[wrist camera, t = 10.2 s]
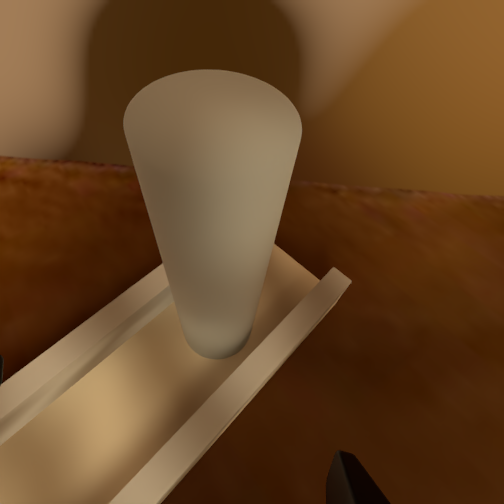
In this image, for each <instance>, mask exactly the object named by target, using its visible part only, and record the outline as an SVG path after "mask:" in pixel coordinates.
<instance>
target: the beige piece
mask: <svg viewBox="0 0 504 504" xmlns="http://www.w3.org/2000/svg"><path fill="white" fill-rule="evenodd" d="M123 125H124V132H125V136H126V140H127V143H128V146H129V150H130V153H131V156H132V160H133V163H134V167H135V170H136V173H137V177H138V180H139V184H140V187H141V190H142V194H143V197H144V201H145V204H146V207H147V211H148V214H149V218H150V221H151V224H152V228H153V231H154V235H155V238H156V241H157V245H158V248H159V251H160V255H161V258H162V262H163V265H164V268H165V272H166V275H167V279H168V282H169V285H170V289H171V292H172V296H173V299H174V302H175V306H176V309H177V312H178V316H179V319H180V323H181V326H182V329H183V333H184V336H185V339H186V341H187V343H188V345H189V346H190V347H191V349H192V350H193V351H194V352H196V353H197V354H199V355H200V356H202V357H205V358H208V359H225V358H228V357H231V356H233V355H235V354H236V353H238V352H239V351H240V350H241V349H242V348H243V347H244V346H245V345H246V343H247V341H248V339H249V337H250V334H251V330H252V326H253V322H254V319H255V315H256V311H257V307H258V303H259V299H260V295H261V291H262V288H263V284H264V280H265V276H266V272H267V268H268V264H269V260H270V257H271V253H272V249H273V245H274V241H275V237H276V233H277V229H278V226H279V222H280V218H281V214H282V210H283V206H284V202H285V198H286V194H287V191H288V187H289V183H290V179H291V175H292V171H293V167H294V163H295V159H296V156H297V152H298V148H299V144H300V140H301V135H302V123H301V120H300V116H299V114H298V112H297V110H296V108H295V107H294V105H293V104H292V102H291V101H290V100H289V99H288V98H287V97H286V96H285V95H284V94H282V93H281V92H280V91H279V90H277V89H276V88H274V87H273V86H271V85H269V84H267V83H265V82H264V81H261V80H259V79H257V78H254V77H251V76H248V75H244V74H241V73H236V72H231V71H224V70H192V71H186V72H181V73H176V74H172V75H169V76H166V77H163V78H161V79H159V80H156V81H155V82H152V83H151V84H149V85H148V86H146V87H144V88H143V89H142V90H141V91H140V92H138V93H137V94H136V95H135V97H134V98H133V99H132V100H131V102H130V103H129V105H128V106H127V109H126V111H125V114H124V121H123Z"/></svg>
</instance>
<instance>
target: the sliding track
mask: <svg viewBox="0 0 504 504" xmlns="http://www.w3.org/2000/svg"><path fill="white" fill-rule="evenodd" d="M351 282H352V281H351V280H350V279H349V278H347V277H346V276H345V275H344V274H342V273H341V272H340V271H338V270H337V269H336V268H335V267H333V268H332V269H331V270H330V271H329V272H328V273H327V274H326V275H325V276H324V277H323V278H322V279H321V281H320V280H319V279H317V278H316V277H315V276H314V275H313V274H311V273H310V272H309V271H308V270H306V269H305V268H304V267H303V266H301V265H300V264H299V263H298V262H296V261H295V260H294V259H293V258H291V257H290V256H289V255H288V254H286V253H285V252H284V251H283V250H281V249H280V248H279V247H278V246H277V245H275V244H274V245H273V249H272V253H271V257H270V260H269V264H268V268H267V272H266V276H265V280H264V284H263V288H262V291H261V295H260V299H259V303H258V307H257V311H256V315H255V319H254V322H253V326H252V330H251V334H250V337H249V339H248V341H247V343H246V345H245V346H244V347H243V348H242V349H241V350H240V351H239V352H238V353H236V354H235V355H233V356H231V357H228V358H225V359H208V358H205V357H202V356H200V355H199V354H197V353H196V352H194V351H193V350H192V349H191V347H190V346H189V345H188V343H187V341H186V339H185V336H184V333H183V329H182V326H181V323H180V319H179V316H178V312H177V309H176V306H175V302H174V299H173V296H172V292H171V289H170V285H169V282H168V279H167V275H166V272H165V268H164V265H163V263H162V264H161V265H160V266H158V267H157V268H156V269H154V270H153V271H152V272H150V273H149V274H148V275H146V276H145V277H144V278H142V279H141V280H140V281H138V282H137V283H136V284H134V285H133V286H132V287H130V288H129V289H128V290H126V291H125V292H124V293H122V294H121V295H120V296H118V297H117V298H116V299H114V300H113V301H112V302H110V303H109V304H108V305H106V306H105V307H104V308H102V309H101V310H100V311H98V312H97V313H96V314H94V315H93V316H92V317H90V318H89V319H88V320H86V321H85V322H84V323H82V324H81V325H80V326H78V327H77V328H76V329H74V330H73V331H72V332H70V333H69V334H68V335H66V336H65V337H64V338H62V339H61V340H60V341H58V342H57V343H56V344H54V345H53V346H52V347H50V348H49V349H48V350H46V351H45V352H44V353H42V354H41V355H40V356H38V357H37V358H36V359H34V360H33V361H32V362H30V363H29V364H28V365H26V366H25V367H24V368H23V369H21V370H20V371H19V372H17V373H16V374H15V375H13V376H12V377H11V378H9V379H8V380H7V381H5V382H4V383H3V384H1V386H0V504H161V503H162V502H163V500H164V499H165V498H166V497H167V496H168V495H169V494H170V492H171V491H172V490H173V489H174V488H175V487H176V486H177V484H178V483H179V482H180V481H181V480H182V479H183V478H184V476H185V475H186V474H187V473H188V472H189V471H190V470H191V468H192V467H193V466H194V465H195V464H196V463H197V462H198V460H199V459H200V458H201V457H202V456H203V455H204V454H205V452H206V451H207V450H208V449H209V448H210V447H211V445H212V444H213V443H214V442H215V441H216V440H217V439H218V437H219V436H220V435H221V434H222V433H223V432H224V431H225V429H226V428H227V427H228V426H229V425H230V424H231V423H232V421H233V420H234V419H235V418H236V417H237V416H238V415H239V413H240V412H241V411H242V410H243V409H244V408H245V407H246V405H247V404H248V403H249V402H250V401H251V400H252V399H253V397H254V396H255V395H256V394H257V393H258V392H259V391H260V389H261V388H262V387H263V386H264V385H265V384H266V383H267V381H268V380H269V379H270V378H271V377H272V376H273V375H274V373H275V372H276V371H277V370H278V369H279V368H280V367H281V365H282V364H283V363H284V362H285V361H286V360H287V359H288V357H289V356H290V355H291V354H292V353H293V352H294V351H295V349H296V348H297V347H298V346H299V345H300V344H301V343H302V341H303V340H304V339H305V338H306V337H307V336H308V335H309V333H310V332H311V331H312V330H313V329H314V328H315V327H316V325H317V324H318V323H319V322H320V321H321V320H322V319H323V317H324V316H325V315H326V314H327V313H328V312H329V311H330V309H331V308H332V307H333V306H334V305H335V304H336V302H337V301H338V300H339V298H340V297H341V295H342V294H343V293H344V291H345V290H346V289H347V287H348V286H349V285H350V283H351Z"/></svg>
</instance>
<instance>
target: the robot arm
mask: <svg viewBox="0 0 504 504" xmlns="http://www.w3.org/2000/svg"><path fill="white" fill-rule="evenodd" d="M3 362H4V360H3V357H2V356H1V355H0V386H1V384H2V376H3ZM326 504H390V502H389V501H388V500H387V498H386V497H385V495H384V494H383V493H382V491H381V490H380V489H379V487H378V486H377V485H376V483H375V482H374V481H373V479H372V478H371V477H370V475H369V474H368V473H367V471H366V470H365V469H364V467H363V466H362V465H361V463H360V462H359V460H358V459H357V458H356V457H355V455H353V454H351V453H348V452H344V451H341V450H339V451H337V452H336V453H335V455H334V458H333V461H332V464H331V467H330V470H329V473H328V477H327V482H326Z"/></svg>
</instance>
